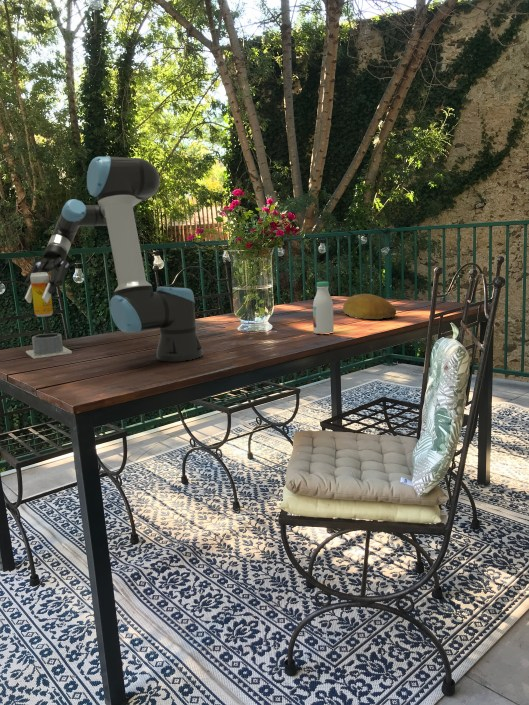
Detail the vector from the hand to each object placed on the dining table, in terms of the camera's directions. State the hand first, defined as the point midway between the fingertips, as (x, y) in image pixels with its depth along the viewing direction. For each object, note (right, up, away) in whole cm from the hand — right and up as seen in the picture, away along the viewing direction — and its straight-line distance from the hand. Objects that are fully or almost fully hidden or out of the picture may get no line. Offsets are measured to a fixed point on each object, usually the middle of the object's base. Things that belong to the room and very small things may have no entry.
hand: (36, 300), depth 200 cm
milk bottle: (+102, -11, +24) cm, 105 cm away
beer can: (+1, -5, +5) cm, 7 cm away
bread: (+126, -2, +66) cm, 142 cm away
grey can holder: (+2, -18, +7) cm, 20 cm away
